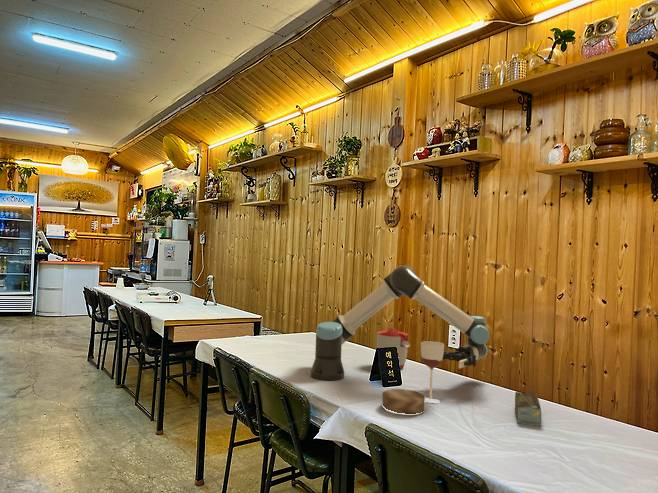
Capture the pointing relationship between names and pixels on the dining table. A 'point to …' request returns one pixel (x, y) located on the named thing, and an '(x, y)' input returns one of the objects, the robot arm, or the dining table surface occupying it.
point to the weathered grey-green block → (527, 409)
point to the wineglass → (432, 356)
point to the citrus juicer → (394, 342)
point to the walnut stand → (403, 401)
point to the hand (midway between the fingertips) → (443, 361)
